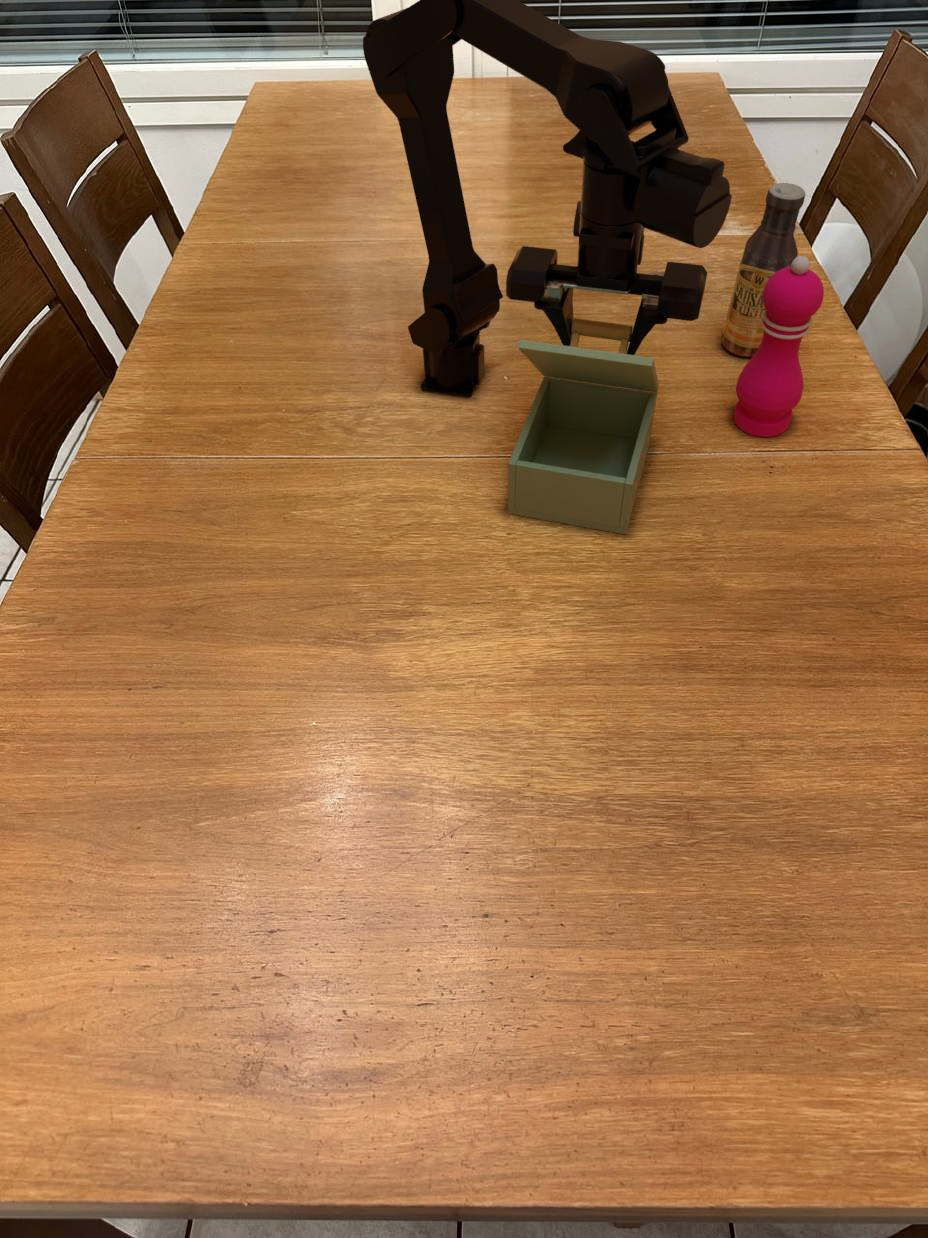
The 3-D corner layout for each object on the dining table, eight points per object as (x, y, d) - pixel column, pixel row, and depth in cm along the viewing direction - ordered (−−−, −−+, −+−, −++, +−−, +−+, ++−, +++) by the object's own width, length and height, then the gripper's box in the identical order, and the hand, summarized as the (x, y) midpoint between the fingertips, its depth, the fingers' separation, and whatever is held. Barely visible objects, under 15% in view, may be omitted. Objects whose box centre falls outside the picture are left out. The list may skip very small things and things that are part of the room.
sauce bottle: (713, 352, 119) (745, 195, 104) (729, 328, 122) (761, 172, 107) (765, 366, 116) (804, 206, 102) (779, 340, 120) (819, 183, 105)
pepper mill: (794, 443, 106) (842, 277, 91) (728, 436, 108) (765, 272, 93) (792, 405, 111) (838, 241, 96) (729, 399, 112) (765, 236, 97)
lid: (652, 366, 86) (663, 308, 85) (517, 347, 89) (527, 291, 88) (657, 392, 102) (666, 343, 101) (543, 375, 104) (551, 328, 104)
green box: (625, 534, 97) (632, 484, 92) (507, 513, 100) (508, 463, 95) (650, 442, 107) (657, 392, 102) (541, 425, 110) (543, 375, 105)
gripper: (725, 179, 89) (699, 325, 101) (532, 162, 93) (529, 304, 105) (711, 237, 82) (686, 386, 94) (504, 216, 86) (505, 362, 98)
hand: (599, 356), depth 98 cm, fingers closed on lid, 6 cm apart
